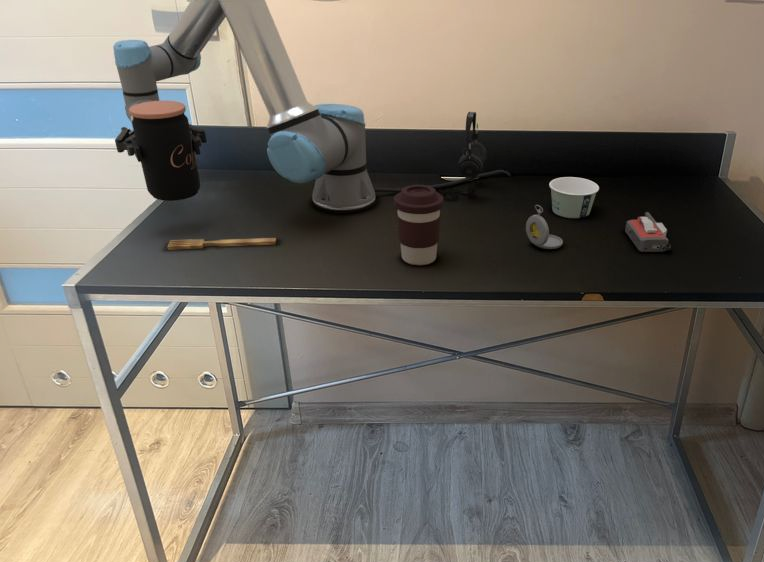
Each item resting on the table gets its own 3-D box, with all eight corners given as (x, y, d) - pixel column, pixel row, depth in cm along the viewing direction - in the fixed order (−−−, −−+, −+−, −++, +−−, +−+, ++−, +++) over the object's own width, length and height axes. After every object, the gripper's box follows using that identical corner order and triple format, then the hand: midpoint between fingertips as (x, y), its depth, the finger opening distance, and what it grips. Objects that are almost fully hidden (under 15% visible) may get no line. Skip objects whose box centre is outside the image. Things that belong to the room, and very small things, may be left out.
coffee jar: (184, 204, 145) (166, 116, 135) (138, 199, 147) (117, 111, 137) (210, 186, 154) (195, 102, 144) (167, 182, 156) (149, 98, 146)
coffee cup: (424, 273, 142) (424, 203, 133) (385, 260, 146) (383, 191, 138) (451, 256, 149) (453, 188, 141) (413, 244, 153) (412, 178, 145)
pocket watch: (565, 241, 157) (570, 198, 152) (556, 256, 150) (561, 212, 145) (530, 235, 159) (533, 193, 154) (520, 249, 153) (523, 206, 147)
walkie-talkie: (678, 254, 153) (649, 218, 170) (682, 235, 151) (653, 201, 167) (640, 255, 152) (614, 218, 169) (643, 236, 150) (617, 201, 167)
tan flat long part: (276, 239, 153) (276, 236, 152) (275, 246, 150) (275, 242, 150) (170, 243, 149) (170, 240, 149) (167, 250, 147) (167, 246, 146)
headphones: (444, 179, 188) (446, 103, 177) (486, 183, 187) (490, 106, 176) (435, 200, 175) (435, 119, 164) (479, 204, 174) (483, 122, 163)
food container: (537, 205, 174) (539, 180, 171) (577, 199, 179) (580, 174, 175) (564, 223, 166) (567, 197, 162) (605, 216, 170) (609, 190, 167)
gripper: (206, 134, 165) (229, 162, 149) (99, 146, 155) (111, 177, 140) (201, 101, 161) (223, 126, 145) (90, 111, 151) (102, 139, 135)
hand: (168, 151), depth 142 cm, fingers closed on coffee jar, 11 cm apart
